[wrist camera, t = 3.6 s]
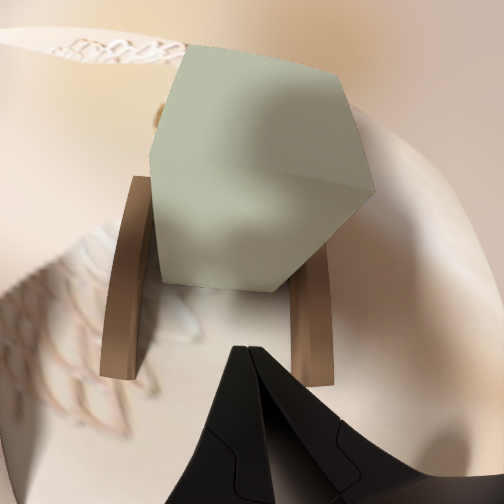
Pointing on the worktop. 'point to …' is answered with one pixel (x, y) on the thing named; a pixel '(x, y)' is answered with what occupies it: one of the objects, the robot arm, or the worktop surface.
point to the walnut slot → (131, 286)
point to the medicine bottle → (5, 482)
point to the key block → (251, 169)
